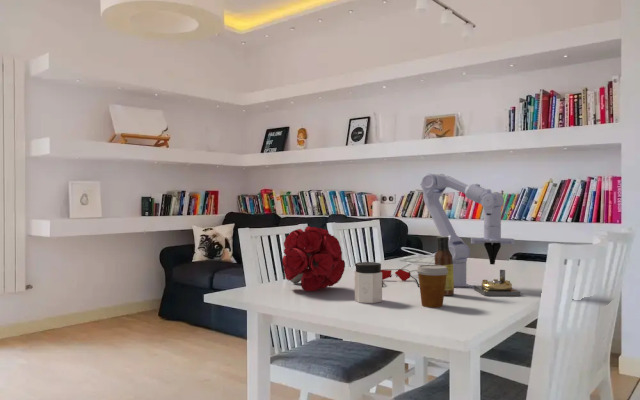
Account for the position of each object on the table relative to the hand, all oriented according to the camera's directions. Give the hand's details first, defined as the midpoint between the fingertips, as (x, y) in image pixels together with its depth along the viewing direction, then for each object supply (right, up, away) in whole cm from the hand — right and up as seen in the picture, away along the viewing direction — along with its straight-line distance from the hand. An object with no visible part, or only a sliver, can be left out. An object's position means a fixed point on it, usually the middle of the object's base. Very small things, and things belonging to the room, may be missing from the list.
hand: (492, 264), depth 183 cm
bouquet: (-65, -10, +4) cm, 66 cm away
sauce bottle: (-19, -10, -7) cm, 23 cm away
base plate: (0, -9, -4) cm, 10 cm away
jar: (-46, -10, -18) cm, 51 cm away
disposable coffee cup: (-27, -10, -25) cm, 38 cm away
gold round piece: (0, -8, -4) cm, 9 cm away
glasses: (-32, -10, +15) cm, 36 cm away
